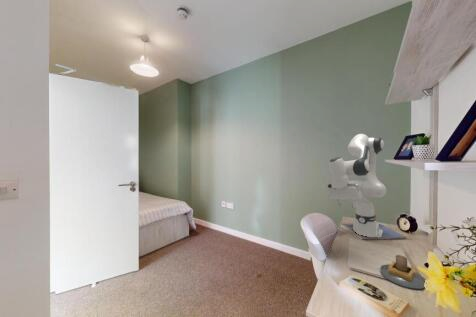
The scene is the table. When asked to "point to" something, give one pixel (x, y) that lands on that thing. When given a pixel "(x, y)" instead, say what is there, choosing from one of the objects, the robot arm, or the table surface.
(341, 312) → the table surface
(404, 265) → the walnut post
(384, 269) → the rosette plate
